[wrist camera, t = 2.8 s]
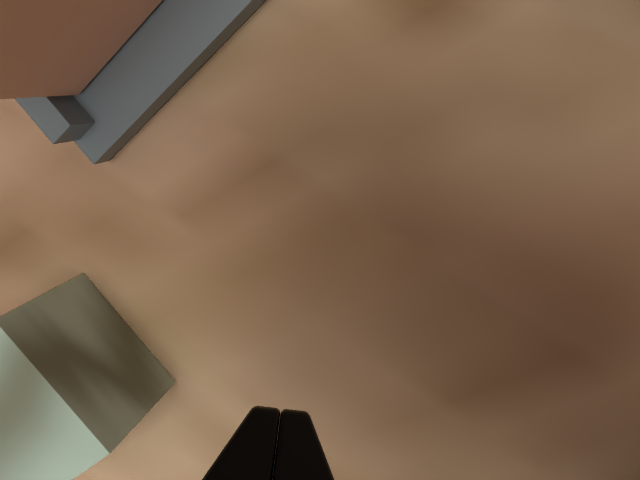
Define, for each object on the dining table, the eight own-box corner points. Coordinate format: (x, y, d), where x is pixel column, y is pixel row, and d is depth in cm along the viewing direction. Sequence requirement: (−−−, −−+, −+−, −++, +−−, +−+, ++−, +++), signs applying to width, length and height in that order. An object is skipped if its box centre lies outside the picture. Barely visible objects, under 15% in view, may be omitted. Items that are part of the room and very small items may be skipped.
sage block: (177, 380, 24) (109, 453, 19) (91, 442, 26) (12, 521, 21) (85, 271, 24) (-7, 319, 19) (6, 343, 26) (-94, 402, 21)
